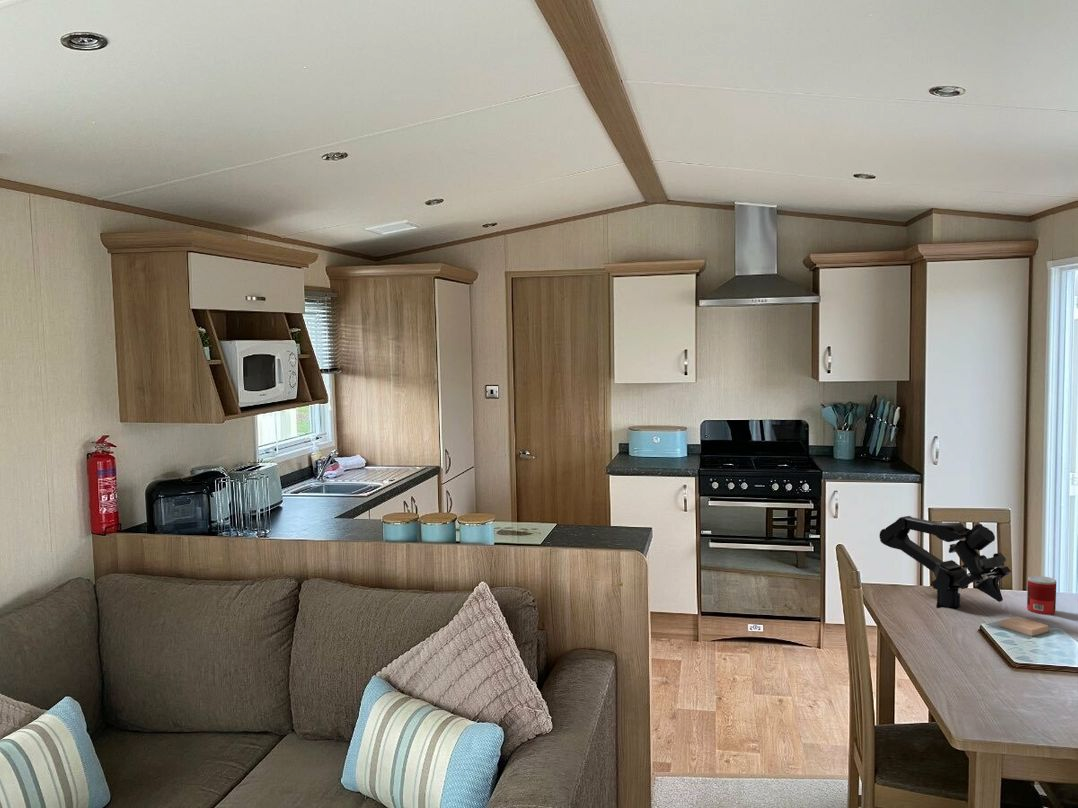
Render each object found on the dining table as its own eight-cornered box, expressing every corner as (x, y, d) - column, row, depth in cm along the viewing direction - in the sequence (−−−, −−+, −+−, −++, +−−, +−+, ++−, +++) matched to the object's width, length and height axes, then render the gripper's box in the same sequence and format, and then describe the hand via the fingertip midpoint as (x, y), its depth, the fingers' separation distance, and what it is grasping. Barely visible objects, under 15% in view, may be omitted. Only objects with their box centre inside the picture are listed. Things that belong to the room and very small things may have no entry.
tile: (1000, 620, 259) (1031, 630, 250) (1016, 616, 263) (1048, 625, 254) (1000, 626, 259) (1031, 636, 250) (1016, 622, 263) (1048, 632, 254)
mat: (985, 625, 262) (985, 624, 262) (1010, 619, 267) (1010, 617, 267) (1028, 640, 249) (1028, 638, 249) (1053, 633, 254) (1054, 631, 254)
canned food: (1060, 615, 269) (1061, 582, 268) (1035, 616, 269) (1036, 582, 268) (1046, 608, 277) (1047, 575, 276) (1022, 608, 277) (1023, 575, 276)
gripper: (968, 548, 262) (999, 593, 253) (1007, 541, 270) (1038, 584, 261) (945, 566, 269) (974, 610, 261) (983, 558, 278) (1013, 601, 269)
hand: (1001, 601), depth 263 cm, fingers closed
